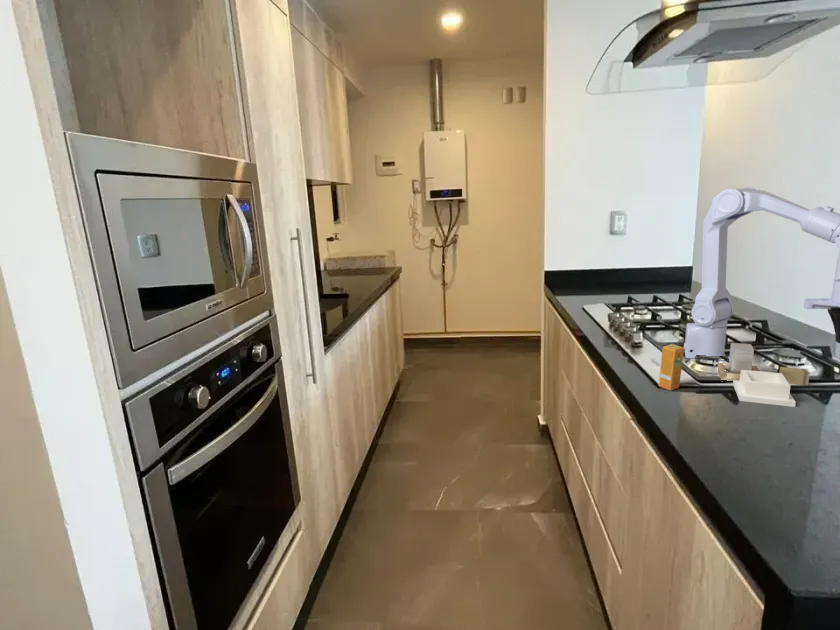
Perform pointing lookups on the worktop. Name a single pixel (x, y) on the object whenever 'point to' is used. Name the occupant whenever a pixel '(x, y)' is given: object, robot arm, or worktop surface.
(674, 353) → the supplement box
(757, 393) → the white square socket
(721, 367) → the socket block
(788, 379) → the tan rectangular block
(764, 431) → the worktop surface
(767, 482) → the worktop surface
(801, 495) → the worktop surface
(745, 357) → the steel peg
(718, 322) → the robot arm
